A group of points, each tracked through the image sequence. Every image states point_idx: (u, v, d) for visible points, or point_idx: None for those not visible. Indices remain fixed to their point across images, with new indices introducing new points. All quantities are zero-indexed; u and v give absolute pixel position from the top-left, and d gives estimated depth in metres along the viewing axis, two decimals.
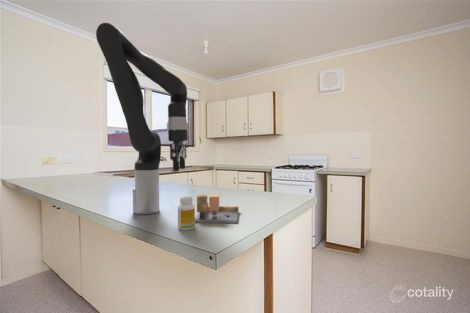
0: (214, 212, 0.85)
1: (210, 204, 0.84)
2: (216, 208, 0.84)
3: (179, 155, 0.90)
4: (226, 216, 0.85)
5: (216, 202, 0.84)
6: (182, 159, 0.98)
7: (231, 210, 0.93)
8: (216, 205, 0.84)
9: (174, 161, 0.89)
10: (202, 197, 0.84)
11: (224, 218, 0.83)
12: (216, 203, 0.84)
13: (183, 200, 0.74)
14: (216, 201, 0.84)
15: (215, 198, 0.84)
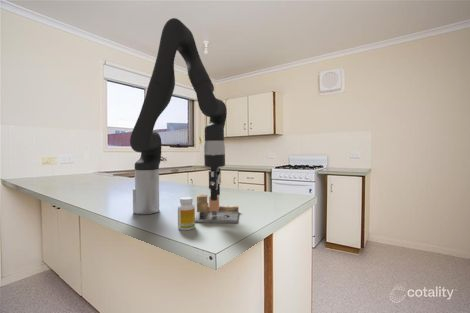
0: (214, 212, 0.85)
1: (210, 204, 0.84)
2: (216, 208, 0.84)
3: (217, 183, 0.82)
4: (226, 216, 0.85)
5: (216, 202, 0.84)
6: (217, 185, 0.90)
7: (231, 210, 0.93)
8: (216, 205, 0.84)
9: (212, 190, 0.80)
10: (202, 197, 0.84)
11: (224, 218, 0.83)
12: (216, 203, 0.84)
13: (183, 200, 0.74)
14: (216, 201, 0.84)
15: None
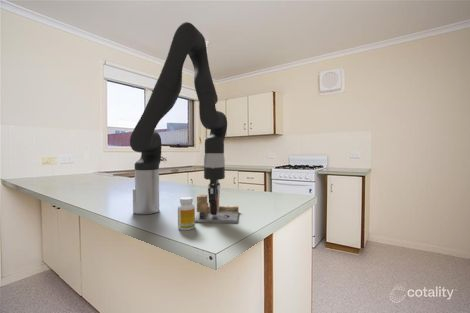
0: None
1: None
2: None
3: None
4: (226, 216, 0.85)
5: None
6: None
7: (231, 210, 0.93)
8: None
9: (212, 204, 0.83)
10: (202, 197, 0.84)
11: (224, 218, 0.83)
12: None
13: (183, 200, 0.74)
14: None
15: None
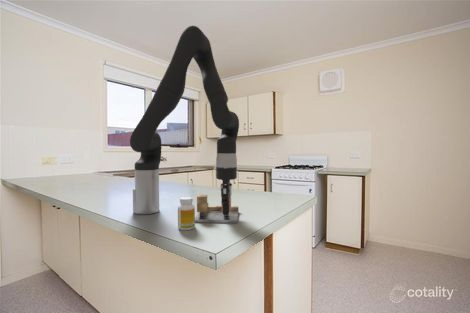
0: None
1: (222, 204, 0.84)
2: None
3: (229, 197, 0.83)
4: (226, 216, 0.85)
5: None
6: None
7: (231, 210, 0.93)
8: None
9: (225, 205, 0.82)
10: (202, 197, 0.84)
11: (224, 218, 0.83)
12: None
13: (183, 200, 0.74)
14: None
15: None
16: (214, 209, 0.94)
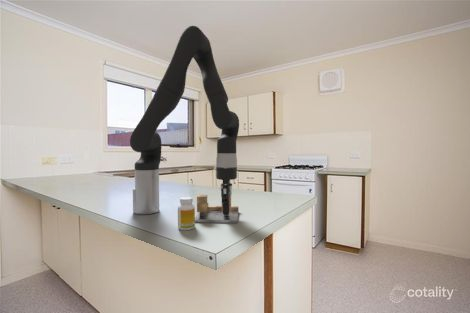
0: None
1: (222, 204, 0.84)
2: None
3: (229, 197, 0.83)
4: (226, 216, 0.85)
5: None
6: None
7: (231, 210, 0.93)
8: None
9: (225, 205, 0.82)
10: (202, 197, 0.84)
11: (224, 218, 0.83)
12: None
13: (183, 200, 0.74)
14: None
15: None
16: (214, 209, 0.94)
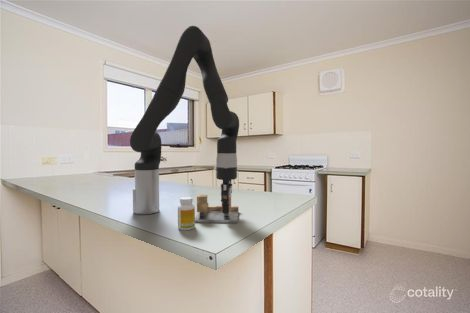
0: None
1: None
2: None
3: (229, 196, 0.82)
4: (226, 216, 0.85)
5: None
6: None
7: (231, 210, 0.93)
8: None
9: (224, 203, 0.80)
10: (202, 197, 0.84)
11: (224, 218, 0.83)
12: None
13: (183, 200, 0.74)
14: None
15: None
16: (214, 209, 0.94)
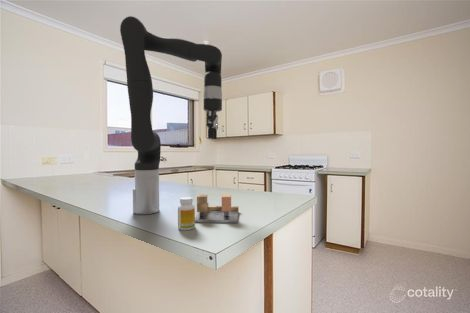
0: (226, 212, 0.85)
1: (222, 204, 0.84)
2: (228, 208, 0.84)
3: (214, 123, 0.93)
4: (226, 216, 0.85)
5: (228, 202, 0.84)
6: (214, 129, 1.01)
7: (231, 210, 0.93)
8: (228, 205, 0.84)
9: (209, 128, 0.91)
10: (202, 197, 0.84)
11: (224, 218, 0.83)
12: (228, 203, 0.84)
13: (183, 200, 0.74)
14: (228, 201, 0.84)
15: (227, 198, 0.84)
16: (214, 209, 0.94)
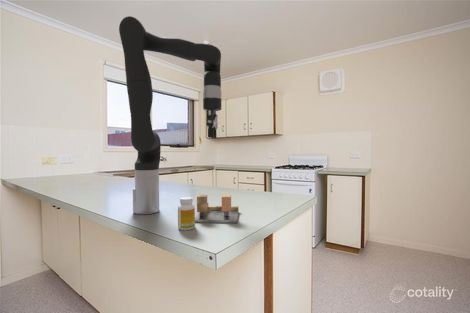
0: (226, 212, 0.85)
1: (222, 204, 0.84)
2: (228, 208, 0.84)
3: (214, 122, 0.93)
4: (226, 216, 0.85)
5: (228, 202, 0.84)
6: (214, 129, 1.01)
7: (231, 210, 0.93)
8: (228, 205, 0.84)
9: (209, 128, 0.91)
10: (202, 197, 0.84)
11: (224, 218, 0.83)
12: (228, 203, 0.84)
13: (183, 200, 0.74)
14: (228, 201, 0.84)
15: (227, 198, 0.84)
16: (214, 209, 0.94)
